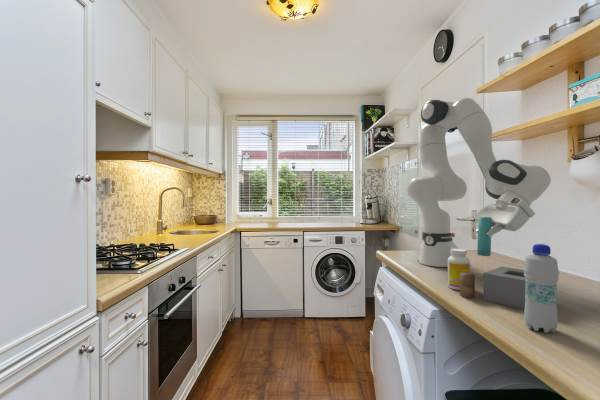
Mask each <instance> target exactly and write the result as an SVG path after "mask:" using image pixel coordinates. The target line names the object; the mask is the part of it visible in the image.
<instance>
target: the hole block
mask: <svg viewBox="0 0 600 400" xmlns="http://www.w3.org/2000/svg"><path fill="white" fill-rule="evenodd" d="M525 280H526V278H525V276H524V270H523V269H518V268H514V267H508V266H507V267H506V266H499V267H497V268H494V269H491V270H488V271H486V272H485V271H484V272H483V298H482V300H483V301H488V302H492V303H496V304H501V305H505V306H509V307H513V308H515V309H516V308H517V309H521V310H525Z"/></svg>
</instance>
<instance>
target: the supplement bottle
mask: <svg viewBox="0 0 600 400" xmlns="http://www.w3.org/2000/svg"><path fill="white" fill-rule="evenodd" d="M451 254H452V256H451V257H449V258H448V267H447V287H448V288H450V289H451V290H455V291H460V273H461V272H469V273H471V272H470V271H471V269H470V263H471V262H470V259H469V258H468V257H466V255H467V250H466V249H464V248H459V249H451Z"/></svg>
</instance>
